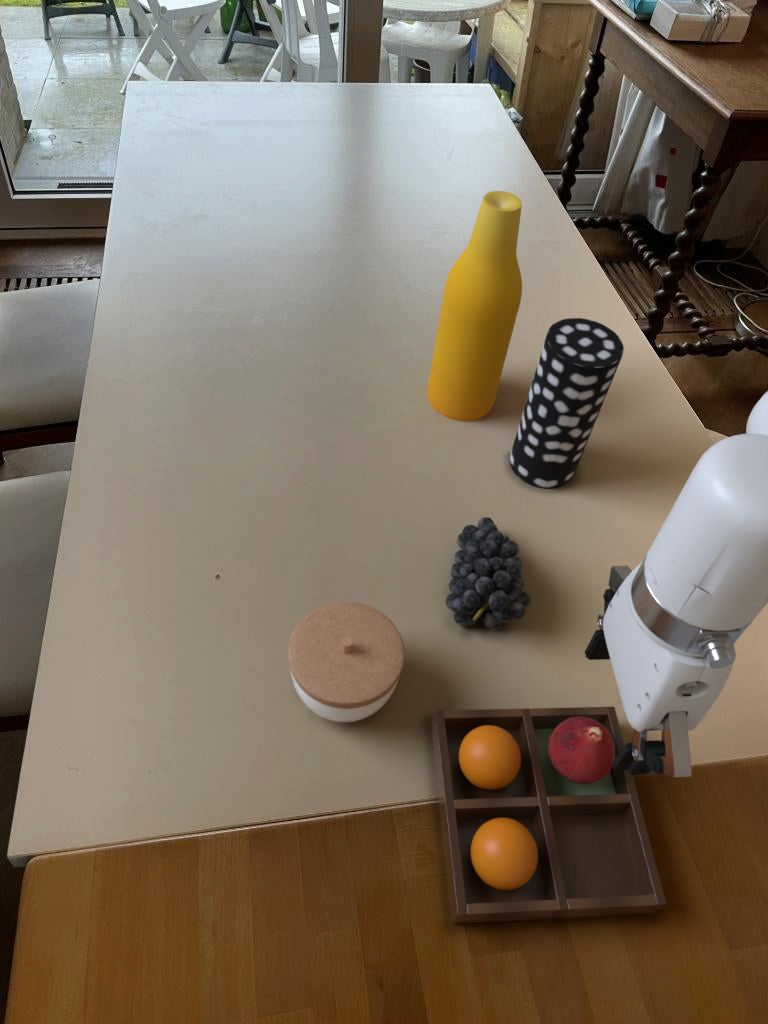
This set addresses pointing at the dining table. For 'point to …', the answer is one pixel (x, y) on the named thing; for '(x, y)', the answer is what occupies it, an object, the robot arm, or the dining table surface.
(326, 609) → the trinket box
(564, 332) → the white-spotted black cylinder
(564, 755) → the pomegranate
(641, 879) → the wooden compartment tray
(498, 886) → the clementine
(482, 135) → the dining table surface
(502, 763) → the clementine
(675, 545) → the robot arm
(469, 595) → the fruit
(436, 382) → the beer bottle
